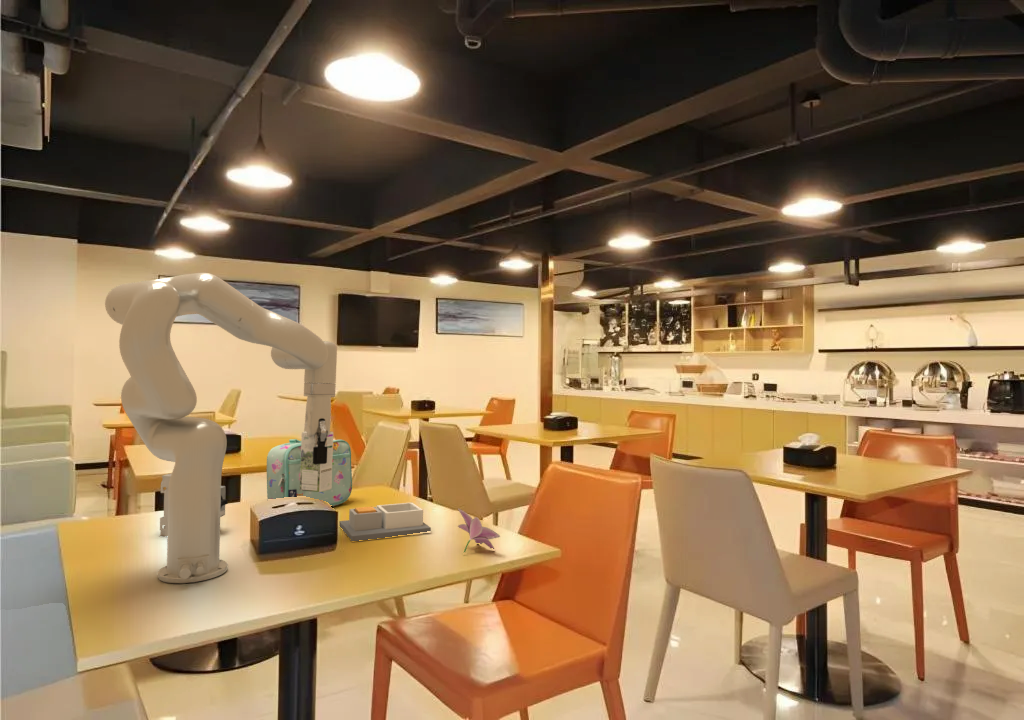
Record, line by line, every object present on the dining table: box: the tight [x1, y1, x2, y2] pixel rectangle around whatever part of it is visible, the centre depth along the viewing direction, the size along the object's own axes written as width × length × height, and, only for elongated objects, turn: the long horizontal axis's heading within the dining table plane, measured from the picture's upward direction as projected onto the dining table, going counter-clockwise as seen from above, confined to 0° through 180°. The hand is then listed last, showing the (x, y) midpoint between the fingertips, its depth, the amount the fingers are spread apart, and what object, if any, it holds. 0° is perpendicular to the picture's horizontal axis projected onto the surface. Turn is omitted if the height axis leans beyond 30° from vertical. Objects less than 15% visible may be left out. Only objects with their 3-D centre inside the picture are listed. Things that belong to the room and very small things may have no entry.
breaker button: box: [354, 506, 376, 514], centre depth 159 cm, size 4×4×4 cm
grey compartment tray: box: [338, 502, 432, 542], centre depth 161 cm, size 16×20×6 cm
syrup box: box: [300, 430, 334, 492], centre depth 152 cm, size 6×6×14 cm
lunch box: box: [266, 438, 353, 507], centre depth 184 cm, size 27×10×21 cm, turn 150°
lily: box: [457, 507, 501, 553], centre depth 143 cm, size 12×12×10 cm
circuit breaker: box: [159, 473, 229, 537], centre depth 156 cm, size 8×14×15 cm, turn 89°
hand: (316, 461), depth 152 cm, fingers closed on syrup box, 8 cm apart
